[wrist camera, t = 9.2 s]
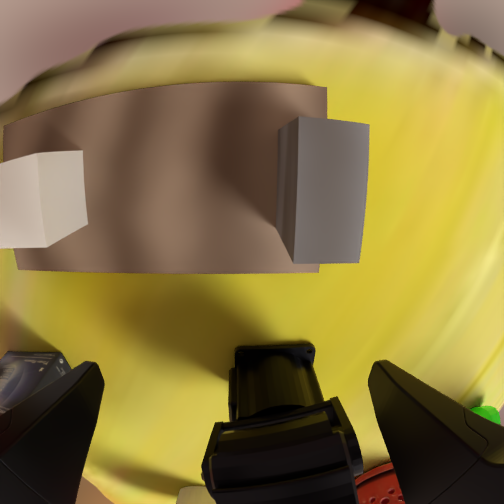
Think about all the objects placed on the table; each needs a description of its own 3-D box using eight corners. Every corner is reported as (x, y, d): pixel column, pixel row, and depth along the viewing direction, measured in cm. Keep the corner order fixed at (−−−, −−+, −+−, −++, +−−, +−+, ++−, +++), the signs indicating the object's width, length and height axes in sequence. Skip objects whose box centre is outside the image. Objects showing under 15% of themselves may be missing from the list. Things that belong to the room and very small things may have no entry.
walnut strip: (322, 90, 16) (367, 59, 9) (314, 266, 20) (349, 320, 13) (11, 126, 15) (-49, 127, 8) (24, 265, 19) (-26, 301, 12)
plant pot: (391, 450, 31) (415, 509, 19) (419, 459, 34) (440, 504, 23) (325, 487, 34) (338, 542, 22) (363, 491, 37) (377, 536, 25)
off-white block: (82, 150, 15) (37, 153, 10) (87, 224, 17) (46, 247, 12) (31, 161, 15) (-15, 168, 10) (37, 227, 17) (-5, 248, 12)
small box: (60, 347, 22) (10, 421, 12) (90, 394, 24) (56, 468, 14) (6, 348, 22) (-39, 402, 12) (32, 389, 24) (-2, 445, 14)
